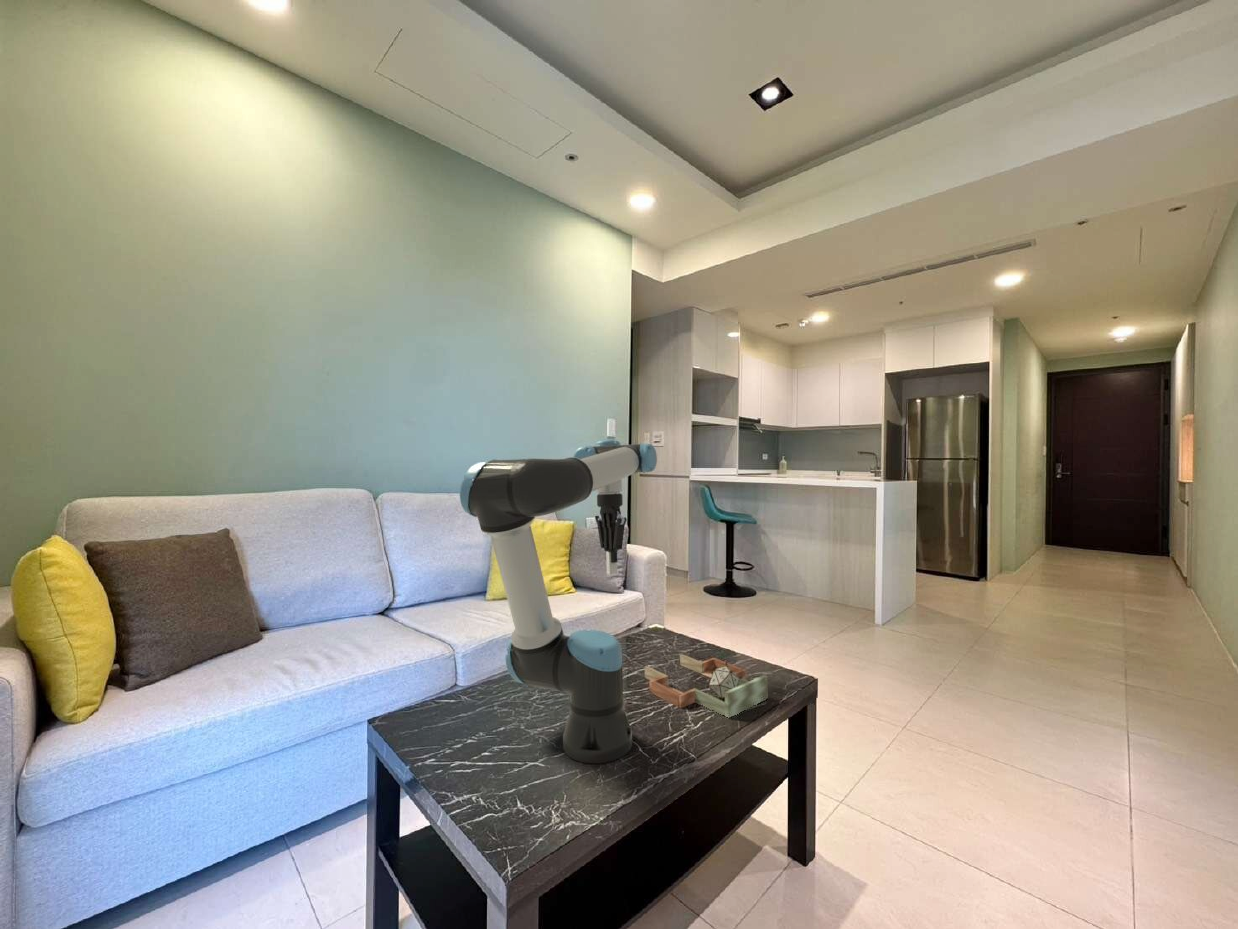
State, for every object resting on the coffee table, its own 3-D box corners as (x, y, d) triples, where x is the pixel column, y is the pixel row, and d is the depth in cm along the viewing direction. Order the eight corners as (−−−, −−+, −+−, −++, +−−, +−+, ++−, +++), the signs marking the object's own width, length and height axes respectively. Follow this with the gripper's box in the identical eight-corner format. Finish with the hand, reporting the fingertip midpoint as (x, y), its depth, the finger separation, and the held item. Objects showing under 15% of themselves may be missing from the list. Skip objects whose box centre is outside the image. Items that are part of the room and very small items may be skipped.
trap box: (714, 725, 115) (713, 699, 115) (631, 682, 140) (630, 660, 140) (779, 694, 130) (779, 671, 130) (694, 660, 154) (693, 640, 155)
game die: (732, 713, 128) (749, 690, 123) (701, 703, 127) (716, 680, 122) (730, 683, 136) (746, 660, 130) (701, 673, 135) (715, 650, 130)
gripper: (633, 492, 143) (635, 574, 143) (607, 492, 154) (609, 568, 154) (612, 494, 139) (614, 578, 139) (586, 493, 150) (589, 571, 149)
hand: (611, 573), depth 146 cm, fingers closed
